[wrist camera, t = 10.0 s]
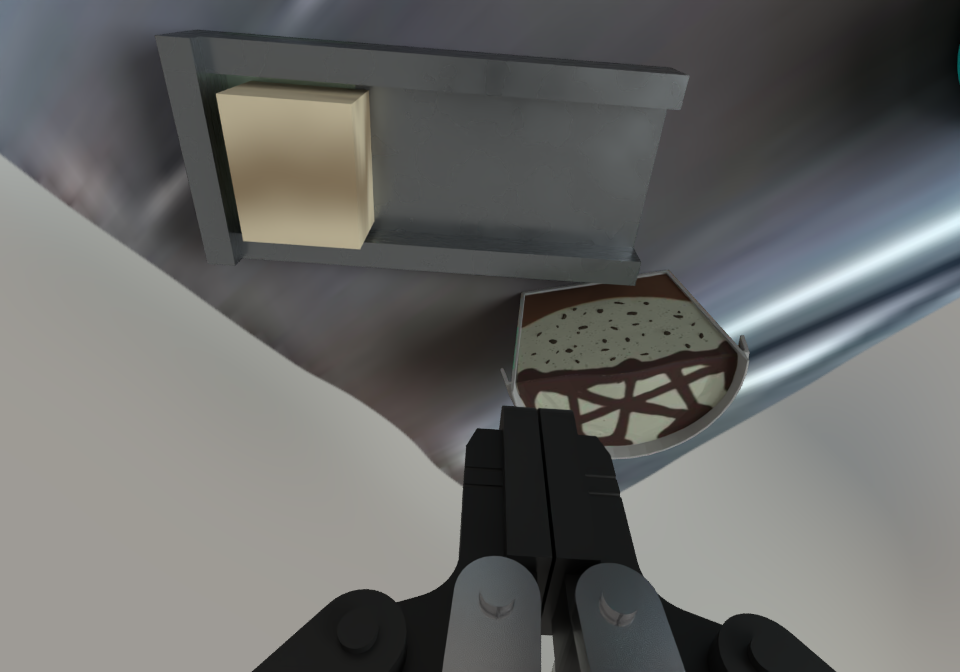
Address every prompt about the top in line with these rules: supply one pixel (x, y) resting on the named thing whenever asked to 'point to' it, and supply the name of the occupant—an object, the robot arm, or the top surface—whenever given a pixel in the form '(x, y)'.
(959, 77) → the donuts
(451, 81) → the chute
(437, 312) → the top surface
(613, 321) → the food container
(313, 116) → the beech block
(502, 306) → the top surface
